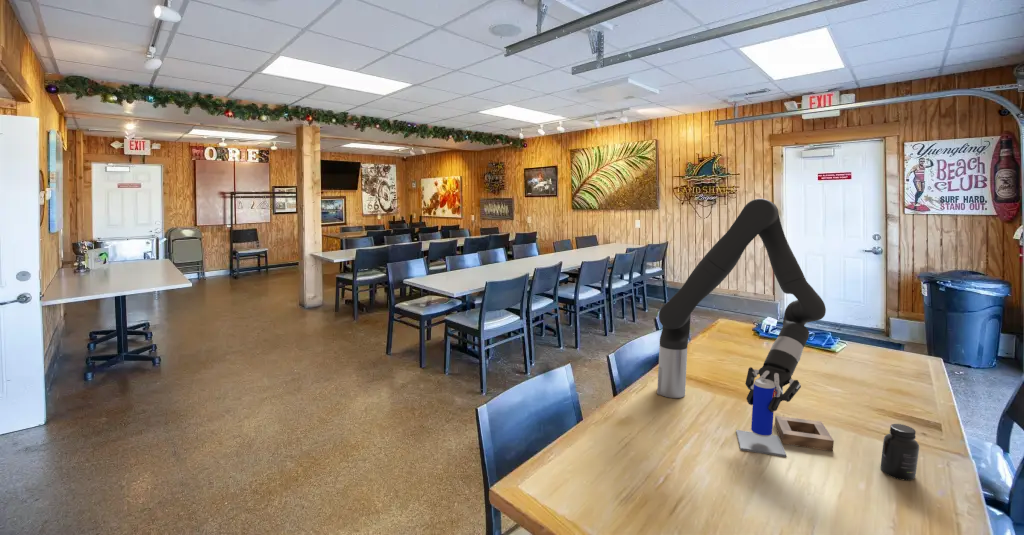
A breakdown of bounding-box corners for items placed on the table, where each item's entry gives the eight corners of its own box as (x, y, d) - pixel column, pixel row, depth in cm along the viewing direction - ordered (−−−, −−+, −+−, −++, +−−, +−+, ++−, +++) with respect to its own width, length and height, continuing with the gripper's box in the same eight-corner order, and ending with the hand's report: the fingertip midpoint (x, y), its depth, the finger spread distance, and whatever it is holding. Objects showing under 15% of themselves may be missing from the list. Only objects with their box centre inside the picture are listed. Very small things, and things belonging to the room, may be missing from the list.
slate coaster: (740, 449, 129) (740, 447, 129) (736, 431, 139) (736, 429, 139) (786, 457, 126) (786, 454, 126) (778, 437, 136) (778, 435, 136)
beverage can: (774, 438, 129) (778, 385, 127) (754, 436, 130) (757, 384, 128) (768, 429, 134) (771, 378, 132) (748, 427, 135) (751, 377, 133)
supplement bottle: (873, 466, 121) (878, 421, 120) (898, 465, 122) (903, 420, 120) (897, 482, 114) (902, 435, 113) (923, 480, 115) (929, 433, 113)
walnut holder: (782, 443, 132) (783, 433, 132) (774, 424, 144) (775, 415, 143) (832, 451, 129) (833, 440, 128) (820, 431, 140) (821, 421, 139)
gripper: (754, 343, 139) (730, 391, 134) (807, 355, 128) (783, 409, 122) (762, 356, 143) (739, 405, 138) (814, 370, 131) (791, 423, 126)
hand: (759, 406), depth 130 cm, fingers closed on beverage can, 5 cm apart
